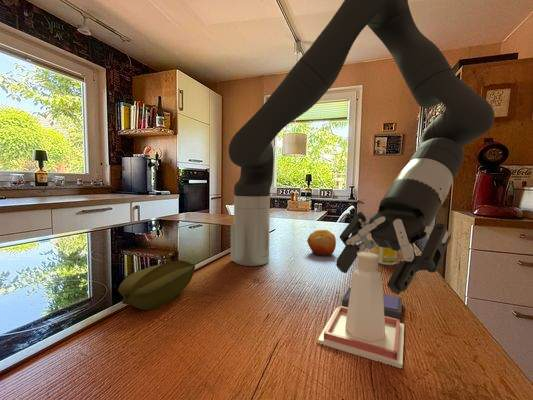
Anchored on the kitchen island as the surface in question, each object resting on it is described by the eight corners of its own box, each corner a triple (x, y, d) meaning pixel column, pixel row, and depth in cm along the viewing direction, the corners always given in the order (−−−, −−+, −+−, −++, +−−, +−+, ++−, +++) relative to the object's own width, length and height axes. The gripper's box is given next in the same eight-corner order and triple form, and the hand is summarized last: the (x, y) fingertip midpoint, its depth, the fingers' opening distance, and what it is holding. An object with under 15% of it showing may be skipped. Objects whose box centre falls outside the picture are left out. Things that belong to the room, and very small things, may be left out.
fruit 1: (130, 290, 52) (129, 256, 51) (195, 284, 55) (195, 252, 54) (115, 321, 41) (113, 278, 40) (197, 311, 44) (197, 271, 44)
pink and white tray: (317, 343, 36) (318, 333, 36) (336, 310, 45) (336, 303, 44) (402, 368, 31) (402, 358, 31) (404, 327, 40) (404, 318, 40)
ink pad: (341, 306, 46) (342, 298, 46) (348, 293, 51) (349, 286, 51) (400, 320, 42) (401, 311, 42) (401, 304, 47) (402, 296, 47)
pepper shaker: (342, 319, 41) (344, 248, 40) (379, 322, 40) (383, 249, 39) (348, 340, 35) (351, 258, 35) (391, 344, 35) (395, 260, 34)
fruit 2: (337, 245, 82) (337, 225, 78) (335, 265, 76) (334, 245, 72) (311, 243, 85) (309, 223, 81) (306, 262, 79) (304, 242, 75)
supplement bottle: (370, 261, 72) (372, 225, 71) (380, 258, 75) (382, 223, 74) (390, 266, 67) (392, 229, 67) (400, 262, 71) (402, 226, 70)
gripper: (367, 176, 47) (314, 250, 41) (461, 177, 34) (403, 281, 29) (384, 206, 50) (337, 277, 45) (475, 216, 38) (426, 315, 33)
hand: (364, 279), depth 37 cm, fingers open, 8 cm apart
